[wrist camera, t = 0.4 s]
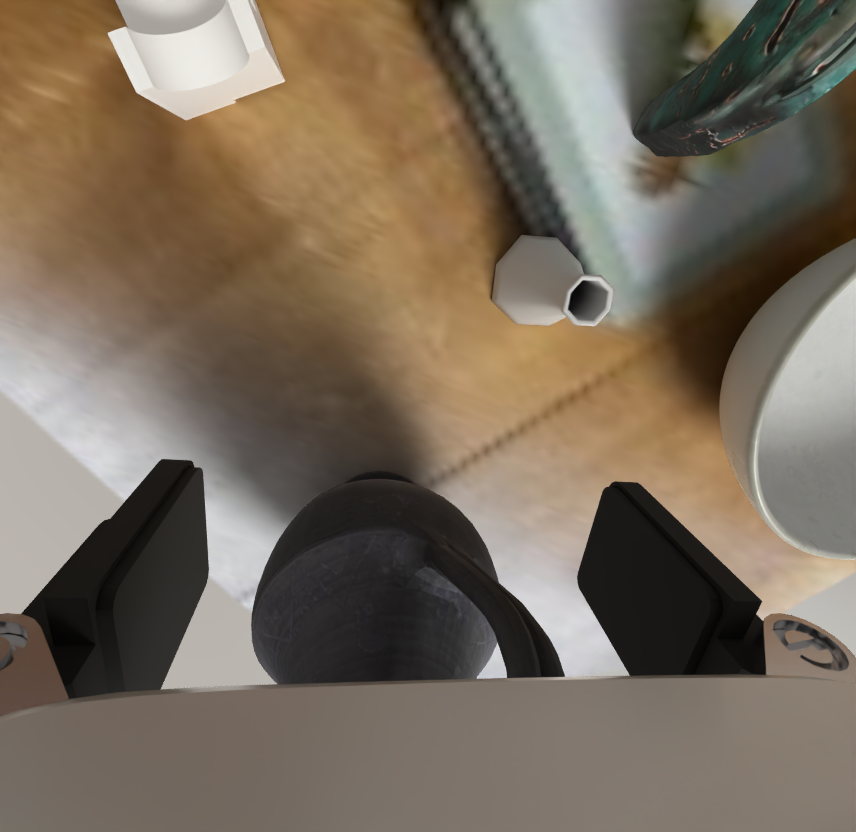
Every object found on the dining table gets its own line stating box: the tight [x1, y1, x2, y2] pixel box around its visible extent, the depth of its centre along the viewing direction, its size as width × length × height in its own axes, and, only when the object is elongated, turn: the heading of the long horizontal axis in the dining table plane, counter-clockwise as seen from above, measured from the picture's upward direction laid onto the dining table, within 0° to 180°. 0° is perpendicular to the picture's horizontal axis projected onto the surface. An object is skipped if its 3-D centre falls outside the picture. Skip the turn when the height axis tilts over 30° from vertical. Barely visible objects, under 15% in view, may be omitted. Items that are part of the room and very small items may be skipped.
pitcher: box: [251, 472, 565, 684], centre depth 30 cm, size 17×21×30 cm
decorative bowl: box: [719, 238, 856, 560], centre depth 38 cm, size 27×27×12 cm
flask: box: [492, 235, 614, 326], centre depth 33 cm, size 7×7×10 cm
